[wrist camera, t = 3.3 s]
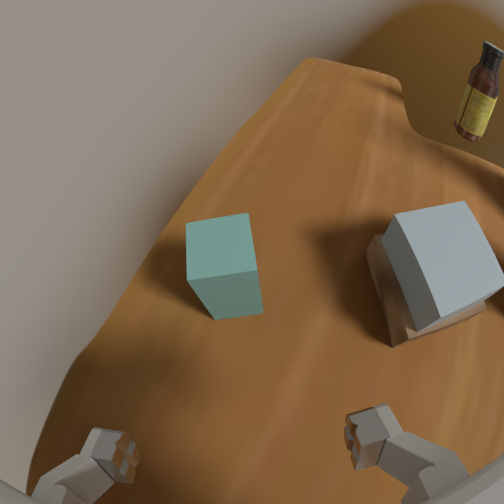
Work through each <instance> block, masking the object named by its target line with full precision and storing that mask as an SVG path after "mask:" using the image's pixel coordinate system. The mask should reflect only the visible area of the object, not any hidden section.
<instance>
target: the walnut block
mask: <svg viewBox="0 0 504 504" xmlns="http://www.w3.org/2000/svg"><path fill="white" fill-rule="evenodd" d="M384 234H385V233H383V234H377V235H374V236H373V238H372V240H371V242H370V244H369V246H368V248H367V250H366V252H365V257H366V260H367V263H368V266H369V269H370V272H371V275H372V278H373V281H374V284H375V287H376V290H377V294H378V297H379V300H380V303H381V307H382V310H383V314H384V317H385V321H386V324H387V328H388V332H389V336H390V340H391V343H392V347H393V348H394V347H397V346H400V345H403V344H406V343H409V342H412V341H415V340H418V339H421V338H424V337H427V336H429V335H432V334H435V333H437V332H440V331H443V330H445V329H448V328H450V327H453V326H455V325H458V324H460V323H463V322H465V321H467V320H469V319H471V318H472V317H474V316H476V315H477V314H479V313H481V312H482V311H484V310H485V309H487V308H486V305H485V302H484V301H483V302H481V303H479V304H477V305H475V306H473V307H471V308H469V309H467V310H465V311H463V312H461V313H459V314H457V315H455V316H453V317H451V318H449V319H446V320H444V321H442V322H440V323H438V324H435V325H433V326H431V327H429V328H426V329H424V330H421V331H419V332H417V330H416V327H415V324H414V321H413V318H412V315H411V313H410V310H409V307H408V304H407V302H406V299H405V296H404V294H403V291H402V289H401V286H400V284H399V281H398V279H397V276H396V274H395V271H394V269H393V267H392V264H391V262H390V260H389V257H388V255H387V253H386V251H385V248H384V246H383V244H382V242H381V239H382V237H383V236H384Z"/></svg>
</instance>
